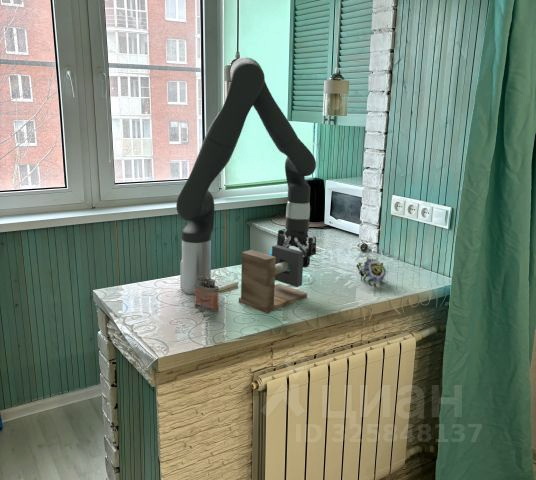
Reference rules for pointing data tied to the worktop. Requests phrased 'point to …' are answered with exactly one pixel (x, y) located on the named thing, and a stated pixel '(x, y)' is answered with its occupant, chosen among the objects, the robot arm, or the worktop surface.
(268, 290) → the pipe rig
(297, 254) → the panel
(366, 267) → the passion flower
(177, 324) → the worktop surface
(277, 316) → the worktop surface
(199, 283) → the lighter
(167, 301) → the worktop surface
